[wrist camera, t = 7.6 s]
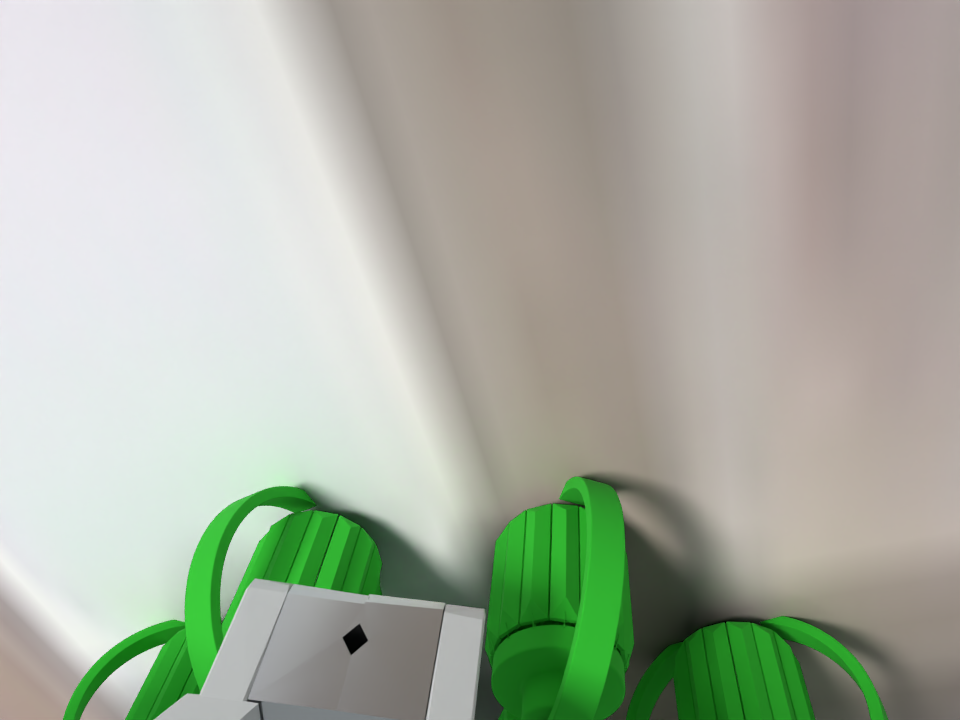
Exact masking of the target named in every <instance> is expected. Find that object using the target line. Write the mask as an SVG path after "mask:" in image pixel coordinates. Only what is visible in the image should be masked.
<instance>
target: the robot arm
mask: <svg viewBox="0 0 960 720" xmlns="http://www.w3.org/2000/svg"><path fill="white" fill-rule="evenodd" d="M485 617H486V615H485V609H482V608H474V607H466V606H458V605H449V604H446V607H445V603H442V602H433V601H425V600H416V599H407V598H399V597H390V596H381V595H373V594H369V596H367V595H361V594H354V593H348V592H342V591H335V590H329V589H323V588H317V587H310V586H304V585H298V584H291V583H284V582H277V581H270V580H262V579H254V580H253V581H252V583H251V584H250V585H249V586H248V588H247V589H246V590H245V593H244V595H243V597H242V600H241V602H240V604H239V606H238V609H237V611H236V613H235V615H234V618H233V620H232V622H231V624H230V627H229V629H228V631H227V633H226V636H225V638H224V640H223V642H222V645H221V647H220V649H219V651H218V654H217V656H216V658H215V660H214V663H213V665H212V667H211V669H210V672H209V674H208V676H207V678H206V681H205V683H204V685H203V687H202V690H201V692H200V694H190V693H187V694H186V695H184V696H183V697H182V698H181V699H179V700H178V701H177V702H176V703H174V704H173V705H172V706H170V707H169V708H168V709H167V710H165V711H164V712H163V713H162V714H160V715H159V716H158V717H156V718H155V719H154V720H474V717H475V708H476V699H477V690H478V681H479V672H480V663H481V654H482V645H483V635H484V626H485Z"/></svg>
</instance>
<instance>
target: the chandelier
mask: <svg viewBox="0 0 960 720" xmlns="http://www.w3.org/2000/svg"><path fill="white" fill-rule="evenodd" d="M559 499H560V500H564V501H568V502H571V503H575V504H579V505H582V506H585V508H582V507H579V508H578V506H575V505H564V504H553V510H552V505H551V504H547V505H543V506H539V507H535V508H531V509H527V511H526V510H525V511H524V512H522V513H521V514H519V515H518V516H517V517H515V518H514V519H513V520H511V521H510V522H509V524H508V525H507V526H506V528H505V529H504V531H503V532H502V533H501V535H500V536H499V538H498V539H497V541H496V545H495V554H494V563H493V573H492V582H491V591H490V600H489V610H488V619H487V632H486V642H485V651H486V653H487V656H488V658H489V662H490V663H491V664H490V665H491V666H492V667H491V668H492V677H491V687H492V691H493V694H494V696H495V698H496V699H497V701H498V702H499V703H500V705H501V706H502V707H503V708H504V709H503V711H502V713H501V715H500V717H499V719H498V720H604V719H606V718H607V717H609V716H610V715H612V714H613V713H614V712H615V711H616V710H617V709H618V708H619V707H620V705H621V704H622V702H623V700H624V697H625V673H626V671H627V669H628V666H629V661H630V657H631V653H632V650H633V646H634V634H633V622H632V609H631V597H630V585H629V572H628V560H627V553H626V551H625V528H624V518H623V512H622V507H621V503H620V500H619V498H618V495H617V493H616V492H615V490H614V489H613V488H612V487H611V486H610V485H607V484H604V483H600V482H596V481H593V480H589V479H585V478H582V477H573V478H571V479H569V480H568V481H567V482H566V484H565V487H564V489H563V491H562V493H561V496H560V498H559ZM257 506H276V507H281V508H284V509H287V510H289V511H292V512H294V513H292V514H291V515H290V514H289V515H288V516H286V517H285V518H283V519H281V520H280V521H278V522H277V523H275V524H274V525H272V526H271V528H270V530H269V532H268V533H267V534H266V535H265V536H264V537H263V538H262V539H261V540H260V541H259V543H258V545H257V548H256V550H255V552H254V554H253V557H252V559H251V561H250V563H249V565H248V568H247V570H246V572H245V574H244V576H243V579H242V581H241V583H240V585H239V588H238V590H237V592H236V594H235V596H234V599H233V601H232V603H231V605H230V607H229V610H228V612H227V614H226V616H225V619H224V621H223V623H222V625H221V615H220V585H221V576H222V570H223V565H224V560H225V556H226V553H227V550H228V547H229V544H230V542H231V540H232V537H233V535H234V533H235V531H236V530H237V528H238V526H239V525H240V523H241V522H242V521H243V519H244V518H245V517H246V516H247V515H248V514H249V513H250V512H251V511H252V510H253V509H254V508H256V507H257ZM315 506H317V505H316V503H315V502H314V501H313V500H312V499H311V498H310V497H309V495H308V494H307V493H306V492H305V491H304V490H303V489H299V488H295V487H288V486H279V487H272V488H268V489H264V490H262V491H259V492H257V493H255V494H252V495H250V496H247V497H245V498H242V499H240V500H238V501H236V502H234V503H232V504H230V505H229V506H228V507H226V508H225V509H224V510H222V511H221V512H220V513H219V514H218V515H217V516H216V517H215V518H214V520H213V521H212V522H211V523H210V525H209V526H208V528H207V529H206V531H205V532H204V534H203V536H202V538H201V540H200V542H199V544H198V546H197V548H196V551H195V553H194V556H193V559H192V562H191V566H190V570H189V575H188V580H187V586H186V595H185V622H181V621H177V620H170V621H166V622H163V623H159V624H156V625H154V626H151V627H148V628H146V629H144V630H141V631H139V632H137V633H135V634H133V635H131V636H130V637H128V638H126V639H125V640H123V641H121V642H120V643H118V644H117V645H116V646H114V647H113V648H112V649H110V650H109V651H108V652H107V653H106V654H104V655H103V656H102V657H101V658H100V659H99V660H98V661H97V662H96V663H95V664H94V665H93V666H92V667H91V668H90V670H89V671H88V672H87V673H86V675H85V676H84V677H83V679H82V680H81V682H80V683H79V685H78V686H77V688H76V690H75V691H74V693H73V695H72V697H71V699H70V701H69V704H68V706H67V709H66V711H65V715H64V718H63V720H80V718H81V715H82V713H83V711H84V709H85V707H86V705H87V703H88V702H89V700H90V699H91V697H92V696H93V694H94V693H95V691H96V690H97V689H98V688H99V686H100V685H101V684H102V683H103V682H104V681H105V680H106V679H107V678H108V677H109V676H110V675H111V674H112V673H113V672H114V671H115V670H116V669H118V668H119V667H120V666H121V665H123V664H124V663H126V662H127V661H129V660H130V659H132V658H133V657H135V656H137V655H139V654H140V653H142V652H144V651H147V650H149V649H151V648H153V647H156V646H159V645H162V644H165V643H166V644H165V645H164V646H163V647H162V649H161V651H160V653H159V655H158V657H157V659H156V660H155V662H154V664H153V666H152V668H151V670H150V672H149V674H148V676H147V678H146V680H145V682H144V684H143V686H142V688H141V690H140V692H139V694H138V696H137V697H136V699H135V701H134V703H133V705H132V707H131V709H130V711H129V713H128V715H127V717H126V719H125V720H154V719H155V718H156V717H158V716H159V715H160V714H162V713H163V712H164V711H165V710H167V709H168V708H169V707H170V706H172V705H173V704H174V703H176V702H177V701H178V700H179V699H181V698H182V697H183V696H184V695H186V694H187V693H190V694H200V692H201V690H202V687H203V685H204V683H205V681H206V678H207V676H208V674H209V672H210V669H211V667H212V665H213V663H214V660H215V658H216V656H217V654H218V651H219V649H220V647H221V645H222V642H223V640H224V638H225V636H226V633H227V631H228V629H229V627H230V624H231V622H232V620H233V618H234V615H235V613H236V611H237V609H238V606H239V604H240V602H241V600H242V597H243V595H244V593H245V590H246V589H247V588H248V586H249V585H250V584H251V583H252V581H253V580H254V579H262V580H270V581H277V582H284V583H291V584H298V585H304V586H310V587H317V588H323V589H329V590H335V591H342V592H348V593H354V594H361V595H367V596H369V594H373V595H381V596H382V592H381V588H380V571H381V567H382V561H381V558H380V555H379V552H378V548H377V545H376V544H375V542H374V541H373V539H372V538H371V537H370V536H369V535H368V534H367V532H366V531H365V530H364V529H363V528H360V527H361V526H359V525H358V524H356V523H354V522H352V521H350V520H348V519H346V518H345V517H343V516H341V515H340V516H339V517H338V514H333V513H328V512H322V511H317V510H314V512H313V510H310V511H305V510H307V509H310V508H312V507H315ZM302 511H304V512H302ZM337 518H338V520H337ZM336 521H337V523H336ZM335 524H336V525H335ZM334 527H335V528H334ZM551 528H552V546H551ZM333 530H334V531H333ZM332 533H333V534H332ZM331 536H332V537H331ZM330 538H331V540H330ZM329 541H330V543H329ZM328 544H329V545H328ZM327 547H328V548H327ZM326 550H327V551H326ZM325 553H326V554H325ZM324 556H325V557H324ZM323 558H324V560H323ZM322 561H323V563H322ZM321 564H322V565H321ZM320 567H321V568H320ZM319 570H320V571H319ZM318 573H319V574H318ZM317 576H318V577H317ZM316 578H317V580H316ZM315 581H316V583H315ZM760 624H761V625H762V626H760V625H757V624H754V623H751V624H750V622H726V624H725V622H723V623H719V624H715V625H711V626H707V627H704V628H702V629H701V628H700V629H699V630H697V631H696V632H694V633H693V634H692V635H690V636H689V637H687V638H686V639H685V640H684V641H683V642H680V643H676V644H672V645H669V646H668V647H667V648H666V649H665V650H664V651H663V652H662V653H661V654H660V655H659V656H658V657H657V658H656V659H655V660H654V661H653V663H652V664H651V665H650V666H649V668H648V669H647V671H646V672H645V674H644V675H643V677H642V678H641V680H640V682H639V684H638V686H637V688H636V690H635V692H634V694H633V697H632V699H631V702H630V705H629V708H628V712H627V716H626V720H649V718H650V716H651V713H652V710H653V708H654V706H655V703H656V702H657V700H658V698H659V696H660V694H661V693H662V691H663V690H664V688H665V687H666V685H667V684H668V683H669V681H670V680H671V679H672V678H673V679H674V687H675V695H676V703H677V711H678V719H679V720H815V716H814V713H813V709H812V706H811V702H810V699H809V695H808V692H807V688H806V685H805V681H804V678H803V674H802V670H801V667H800V663H799V662H798V660H797V659H796V657H795V656H794V654H793V653H792V650H791V647H790V646H789V645H788V644H787V643H786V642H785V641H784V640H783V639H785V640H790V641H794V642H797V643H800V644H803V645H806V646H808V647H811V648H813V649H815V650H817V651H819V652H821V653H823V654H824V655H826V656H827V657H829V658H830V659H832V660H833V661H835V662H836V663H837V664H838V665H840V666H841V667H842V668H843V669H844V670H845V671H846V672H847V673H848V674H849V675H850V676H851V677H852V678H853V680H854V681H855V682H856V683H857V685H858V686H859V687H860V689H861V690H862V692H863V694H864V696H865V699H866V702H867V705H868V709H869V713H870V719H871V720H888V717H887V714H886V711H885V709H884V706H883V704H882V702H881V700H880V698H879V696H878V694H877V692H876V690H875V688H874V685H873V683H872V682H871V680H870V678H869V676H868V675H867V673H866V671H865V670H864V668H863V667H862V666H861V664H860V663H859V662H858V660H857V659H856V658H855V657H854V656H853V655H852V654H851V653H850V652H849V651H848V650H847V649H846V648H845V647H844V646H843V645H842V644H841V643H839V642H838V641H837V640H836V639H834V638H833V637H831V636H830V635H828V634H827V633H825V632H824V631H822V630H820V629H818V628H816V627H814V626H812V625H810V624H807V623H805V622H802V621H799V620H796V619H793V618H789V617H785V616H781V617H777V618H773V619H769V620H765V621H762V622H760ZM726 626H727V628H726ZM727 631H728V633H727ZM728 636H729V638H728ZM729 641H730V643H729ZM730 646H731V648H730ZM731 651H732V653H731ZM732 656H733V658H732ZM733 661H734V663H733ZM734 666H735V668H734ZM735 671H736V673H735ZM736 676H737V678H736ZM737 681H738V683H737ZM738 686H739V687H738Z"/></svg>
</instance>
